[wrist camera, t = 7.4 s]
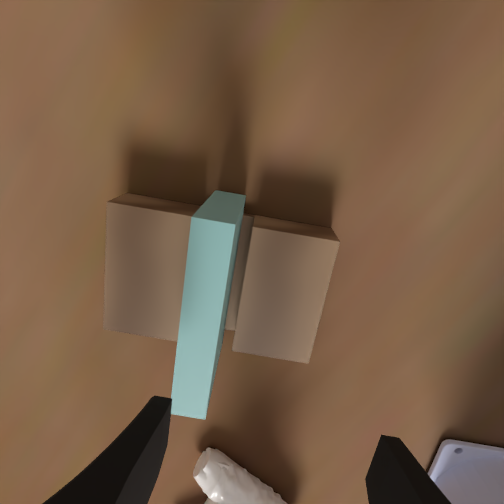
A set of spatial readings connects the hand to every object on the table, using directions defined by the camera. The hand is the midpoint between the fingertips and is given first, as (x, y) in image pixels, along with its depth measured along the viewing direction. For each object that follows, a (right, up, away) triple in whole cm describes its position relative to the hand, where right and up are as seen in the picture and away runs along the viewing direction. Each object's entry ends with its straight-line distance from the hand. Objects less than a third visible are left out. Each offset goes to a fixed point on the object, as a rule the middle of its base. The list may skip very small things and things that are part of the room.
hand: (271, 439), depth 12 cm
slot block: (-2, +5, +8) cm, 10 cm away
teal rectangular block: (-2, +5, +8) cm, 10 cm away
